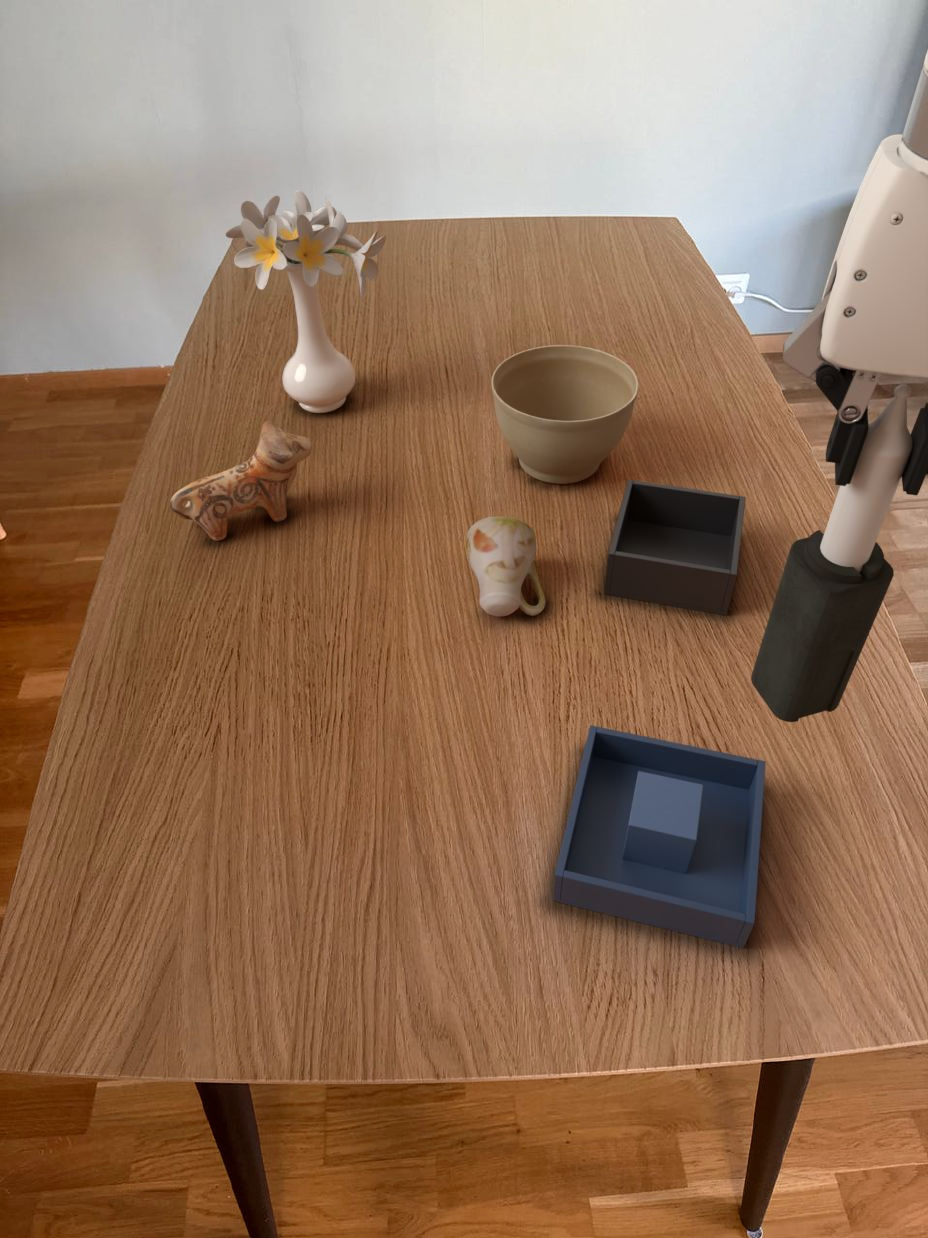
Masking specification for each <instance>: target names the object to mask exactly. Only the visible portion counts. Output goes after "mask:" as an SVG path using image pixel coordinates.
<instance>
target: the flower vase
mask: <svg viewBox="0 0 928 1238" xmlns="http://www.w3.org/2000/svg"><path fill="white" fill-rule="evenodd" d="M324 198H325V203H326V206H322V207H319V208H318V209H316V210H315V211H313V212H312V206H311V202H310V200H309V198H308V197H307V195H306V194H305V192H303V191H302V190H300V189H299V190H296V191H295V192H294V197H293V200H294V201H293V202H294V206H295V211H296V213H295V212H293V211H291V210H283V211H281V212H280V215H278V214H276V213H277V210H278V208H279V204H280V200H281V197H280V196H279V195H278V194H277V195H274V196H273V197H271V198H270V199H269V200H268V201H267V202H266V204H265V205H264V207H263V210H262V212H261V210H260V208H259V207H258V206H257V205H256V204H255V203H254V202H253V201H251V200H245V201H243V202H242V203H241V204H240V214H241V217H242V220H240V224H238V225H234V226H232V227H230V228H229V229H228V230H227V231H226V232H225V237H226V238H228V239H245V241H244V246H245V248H243V249H241V250H239V251H238V252H237V253H236V254H235V256H234V259H233V262H234V265H235V266H236V267H237V268H240V269H249V268H252V267H253V268H254V267H256V266H257V267H256V269H255V274H254V276H255V277H254V279H255V284H256V286H257V288H258V289H259V290H261V291H262V290H264V289H265V288H267V285H268V282H269V279H270V274H271V272H272V269H275V270H278V271H281V270H285V272H286V274H287V277H288V280H289V283H290V286H291V287H290V288H291V291H292V294H293V300H294V307H295V315H296V323H297V344H296V348H295V350H294V353H293V355H292V356H291V357H290V358H289V359H288V361H287V362H286V364H285V366H284V368H283V372H282V377H281V378H282V379H281V382H282V386H283V389H284V391H285V392H286V394H288V396H289V397H290V398H291V399H292V400H294V401H296V402H298V405H299V406H300V407H301V409H303V410H304V411H307V412H309V413H314V414H324V413H330V412H333V411H336V410H337V409H339V408H341V407H342V406H343V405H344V404H345V402H346V400H347V396H348V395H349V394H350V393H351V391H352V390H353V388H354V386H355V385H356V378H357V375H356V370H355V368H354V366H353V364H352V362H351V361H350V359H349V358H348V357H346V355H345V354H344V353H343V352H341V351H340V350H338V349H336V348H335V346H334V344H332V342H331V340H330V338H329V336H328V334H327V330H326V327H325V323H324V318H323V317H324V316H323V312H322V307H321V301H320V295H319V283H318V282H319V278H320V270H322V271H323V272H325V273H327V274H330V275H332V276H342V275H343V274H344V271H345V270H344V266H343V264H342V263H341V262H340V261H339V259H337V258H336V256H334V255H331V254H339V255H344V256H346V257H348V258H351V259H352V261H353V264H354V267H355V271H356V275H357V279H358V285H359V291H360V296H361V299H364V297H365V293H366V290H367V278H368V279H369V280H370V281H371V282H372V281H373V282H375V281H376V280H377V279H378V276H379V265H378V263H377V262H376V261H375V260H374V259H373V258H374V257H376V256H377V255H378V254H379V253H380V252H381V251H382V249H383V247H384V246H385V243H386V242H387V241H386V240H387V236H386V235H383V236H381V237H379V238H378V235H379V234H378V233H379V231H378V230H376V231H375V232H374V233H373V234H372V236H371V237H370V238H369V240H368V241H366V243H364V244H362V243H361V241H359V240H358V239H357V238H356V237H355V236H353V235H351V234H347V232H348V228H349V225H348V222H347V219H346V217H345V216H344V214H343V213H342V211H341V210H336V208H335V207H333V206H332V204H331V203H330V200H329V199H328V197H327V196H325V197H324ZM328 225H329V227H327V226H328ZM377 238H378V239H377ZM278 241H279V242H278ZM280 242H281V243H283V244H284V245H282V244H281V243H280ZM339 245H340V246H344V247H346V248H349V249H351V250H354V251H355V252H354V253H353V252H350V251H348V250H344V249H338V248H333V247H336V246H339ZM278 247H279V248H280V249H282V250H280V249H279V248H278Z"/></svg>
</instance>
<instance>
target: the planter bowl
mask: <svg viewBox="0 0 928 1238" xmlns="http://www.w3.org/2000/svg"><path fill="white" fill-rule="evenodd" d="M490 383H491V392H492V396H493V403H494V413H495V416H496V421H497V425H498V427H499V429H500V432H501V434H502V437H503V439H504V440H505V443H506V444H507V446H508V447H509V449H510V450H511V451H512V453H513V454H514V455H515V457H516V458H517V459H518V461H519V462H518V463H519V465H520V467H521V468H522V470H523V471H524V472H525V473H526V474H528V475H529V476H530V477H532V478H534V479H535V480H538V481H541V482H544V483H549V484H557V485H558V484H561V485H563V484H573V483H578V482H582V481H583V480H586V479H588V478H590V477H591V476H592V475H594V474H595V472H596V471H597V470H598V469H599V467H600V464H601V463H602V462H603V461H604V460H605V459H606V458H607V457H608V456H609V455H610V454H611V453H612V452H613V450H614V449H615V448H616V447H617V446H618V444H619V442H620V441H621V439H622V438H623V436H624V435H625V433H626V431H627V428H628V426H629V423H630V420H631V417H632V415H633V410H634V405H635V403H636V400H637V398H638V393H639V387H640V386H639V385H640V384H639V380H638V376H637V374H636V372H635V371H634V370H633V368H632V367H631V366H630V365H629V364H628V363H627V362H625V361H623V360H622V359H620V358H619V357H617V356H615V355H614V354H610V353H608V352H606V351H603V350H599V349H596V348H592V347H588V346H587V347H586V346H581V345H571V344H551V345H542V346H537V347H533V348H529V349H526V350H522V351H520V352H517V353H514V354H513V355H510V356H509V357H507V358H506V359H504V360H503V361H502V362H500V363H499V365H497V367H496V368H495V369H494V372H493V373H492V375H491V382H490Z"/></svg>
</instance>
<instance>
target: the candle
mask: <svg viewBox="0 0 928 1238" xmlns="http://www.w3.org/2000/svg"><path fill="white" fill-rule="evenodd" d="M893 395H894V396H893V397H892V398H891V400H890V401H889V402H888V404H887V405H886V406H885V408H883V410H882V411H881V413H880V414H879V415H878V416H877V418H876V419H874V420H872V421H871V422H870V423H868V425H869V428H868V433H867V436H866V439H865V442H864V445H863V448H862V451H861V453H860V456H859V459H858V462H857V465H856V468H855V471H854V474H853V477H852V480H851V482H850V484H846V486H840V485H839V488H838V490H837V491H838V492H837V494H836V497H835V501H834V504H833V506H832V510H831V512H830V515H829V518H828V521H827V524H826V527H825V530H824V532H822V531H821V530H820V529H818V530H816V531H814V532H813V533H812V534H810V535H809V536H808V537H804V538H800V539H797V540H795V541H794V542H792V544H791V546H790V549H789V552H788V555H787V558H786V561H785V565H784V567H783V571H782V574H781V576H780V577H781V578H780V581H779V583H778V588H777V591H776V593H775V597H774V600H773V604H772V607H771V610H770V613H769V617H768V620H767V624H766V626H765V631H764V633H763V637H762V639H761V642H760V645H759V649H758V652H757V656H756V658H755V659H756V660H755V661H754V662H755V663H754V666H753V669H752V673H751V676H750V683H751V684H752V686H753V687H754V688H755V690H756V692H757V693H758V694H759V695H760V697H761V698H762V700H763V702H764V703H765V704H766V706H767V707H768V709H769V710H770V711H771V713H772V714H773V715H774V716H775V717H776V718H777V719H779V720H781V721H783V722H785V723H795V722H796V723H797V722H799V720H800V719H802V718H805V717H809V716H813V715H816V714H819V713H822V712H823V713H824V712H828V713H831V712H833V711H835V710H836V709H837V708H839V705H840V702H841V700H842V698H843V696H844V693H845V691H846V688H847V686H848V684H849V682H850V679H851V678H852V674H853V673H854V670H855V667H856V665H857V663H858V660H859V659H860V656H861V653H862V651H863V649H864V646H865V644H866V641H867V639H868V637H869V635H870V633H871V630H872V628H873V625H874V622H875V621H876V618H877V616H878V614H879V611H880V608H881V606H882V605H883V602H884V599H885V597H886V595H887V592H888V590H889V587H890V585H891V583H892V581H893V578H894V575H895V570H894V568H893V566H892V565H891V564H890V563H889V562H888V561H887V560H886V558H885V554H884V551H883V549H882V548H881V546H880V545H879V543H878V542H877V540H878V537H879V535H880V532H881V529H882V527H883V524H884V522H885V520H886V517H887V514H888V512H889V509H890V507H891V504H892V501H893V499H894V496H895V495H896V491H897V489H898V486H899V484H900V481H901V480H902V474H903V471H904V469H905V466H906V464H907V461H908V459H909V456H910V453H911V451H912V448H913V441H912V438H911V432H910V430H909V428H908V399H909V398H910V396H911V395H912V388H911V387H910V386H909V384H905V383H902V384H899V385H897V386H896V387H895V388H894V390H893Z"/></svg>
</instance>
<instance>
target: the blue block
mask: <svg viewBox="0 0 928 1238" xmlns="http://www.w3.org/2000/svg"><path fill="white" fill-rule="evenodd" d="M702 793H703V785H702V784H697V783H692V782H688V781H683V780H678V779H674V778H669V777H664V776H660V775H655V774H650V773H646V772H641V771H638V775H637V780H636V785H635V791H634V796H633V801H632V806H631V812H630V817H629V823H628V828H627V833H626V839H625V844H624V850H623V855H622V859H626V860H630V861H634V862H638V863H643V864H647V865H651V866H655V867H660V868H664V869H668V870H672V871H677V872H681V873H685V874H686V873H687V871H688V868H689V864H690V861H691V858H692V854H693V851H694V848H695V844H696V841H697V834H698V826H699V818H700V810H701V801H702Z"/></svg>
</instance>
